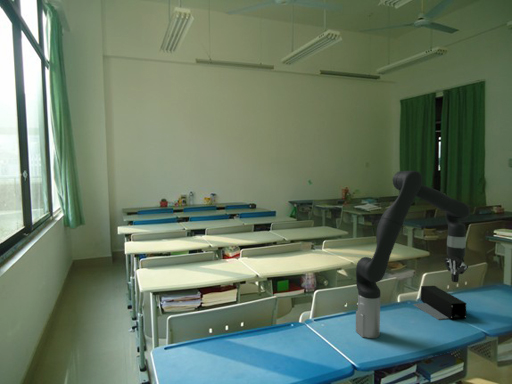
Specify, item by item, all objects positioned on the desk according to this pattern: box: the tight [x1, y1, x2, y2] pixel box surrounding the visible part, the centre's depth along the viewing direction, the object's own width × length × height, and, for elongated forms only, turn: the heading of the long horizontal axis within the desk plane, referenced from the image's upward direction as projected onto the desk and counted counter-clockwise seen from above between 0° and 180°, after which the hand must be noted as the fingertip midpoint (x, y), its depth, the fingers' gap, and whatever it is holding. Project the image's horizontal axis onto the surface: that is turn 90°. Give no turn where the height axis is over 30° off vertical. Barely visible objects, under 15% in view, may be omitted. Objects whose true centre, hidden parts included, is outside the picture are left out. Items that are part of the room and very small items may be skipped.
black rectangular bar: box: [420, 285, 467, 320], centre depth 178 cm, size 8×8×28 cm
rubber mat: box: [413, 302, 460, 321], centre depth 175 cm, size 12×18×1 cm, turn 12°
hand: (454, 281), depth 162 cm, fingers closed
